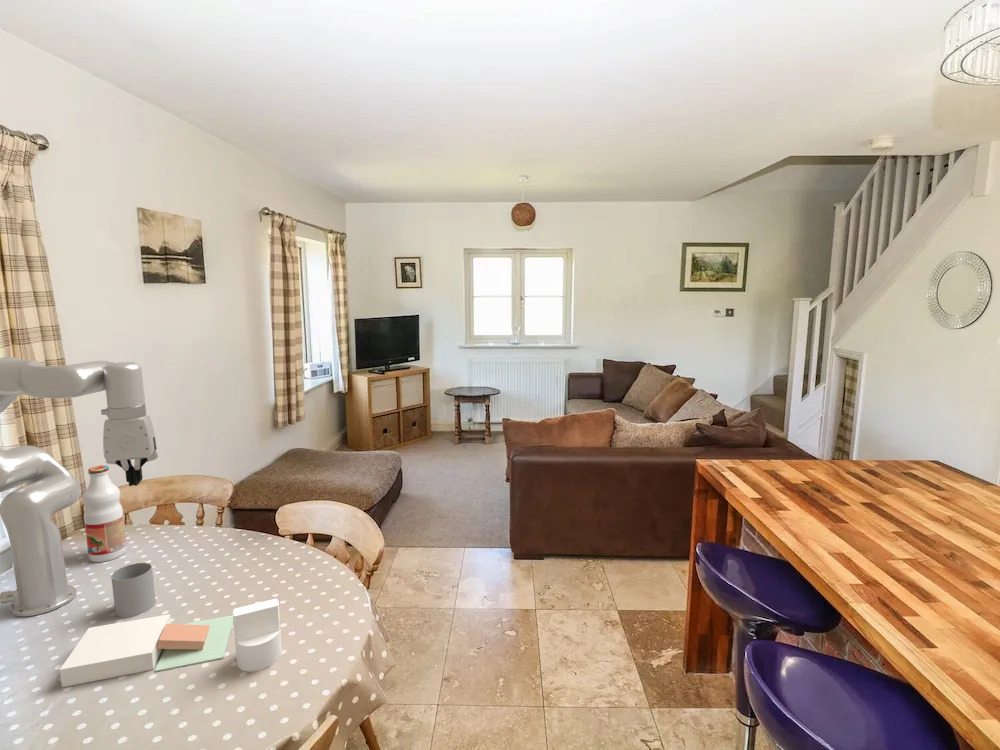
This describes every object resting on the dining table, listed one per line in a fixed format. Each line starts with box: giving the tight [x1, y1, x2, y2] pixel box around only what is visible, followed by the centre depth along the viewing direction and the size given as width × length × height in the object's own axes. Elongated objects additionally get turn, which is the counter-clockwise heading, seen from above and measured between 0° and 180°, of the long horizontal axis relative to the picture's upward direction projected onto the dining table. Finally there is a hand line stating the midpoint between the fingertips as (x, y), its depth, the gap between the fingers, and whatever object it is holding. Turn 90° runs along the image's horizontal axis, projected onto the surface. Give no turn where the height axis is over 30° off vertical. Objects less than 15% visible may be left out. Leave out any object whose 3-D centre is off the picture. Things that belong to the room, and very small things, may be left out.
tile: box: [157, 623, 210, 650], centre depth 116 cm, size 9×6×2 cm, turn 109°
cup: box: [110, 562, 157, 619], centre depth 130 cm, size 8×8×10 cm
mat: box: [154, 614, 234, 673], centre depth 118 cm, size 13×16×1 cm
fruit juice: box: [81, 465, 128, 563], centre depth 155 cm, size 9×9×28 cm
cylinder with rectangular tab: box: [232, 598, 283, 673], centre depth 112 cm, size 9×9×12 cm
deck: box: [59, 613, 172, 688], centre depth 113 cm, size 16×14×4 cm
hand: (135, 483), depth 128 cm, fingers closed
